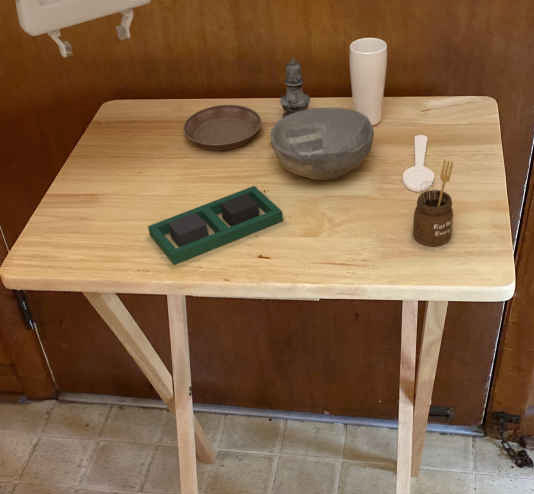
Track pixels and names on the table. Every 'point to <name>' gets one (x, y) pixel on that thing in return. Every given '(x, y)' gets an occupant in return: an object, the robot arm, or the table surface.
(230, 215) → the pad
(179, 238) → the pad
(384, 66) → the drinking glass
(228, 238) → the green divided frame
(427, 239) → the utensil holder
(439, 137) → the table surface
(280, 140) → the bowl
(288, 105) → the dark grey tiered figurine
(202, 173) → the table surface
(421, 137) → the spoon
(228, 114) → the saucer
